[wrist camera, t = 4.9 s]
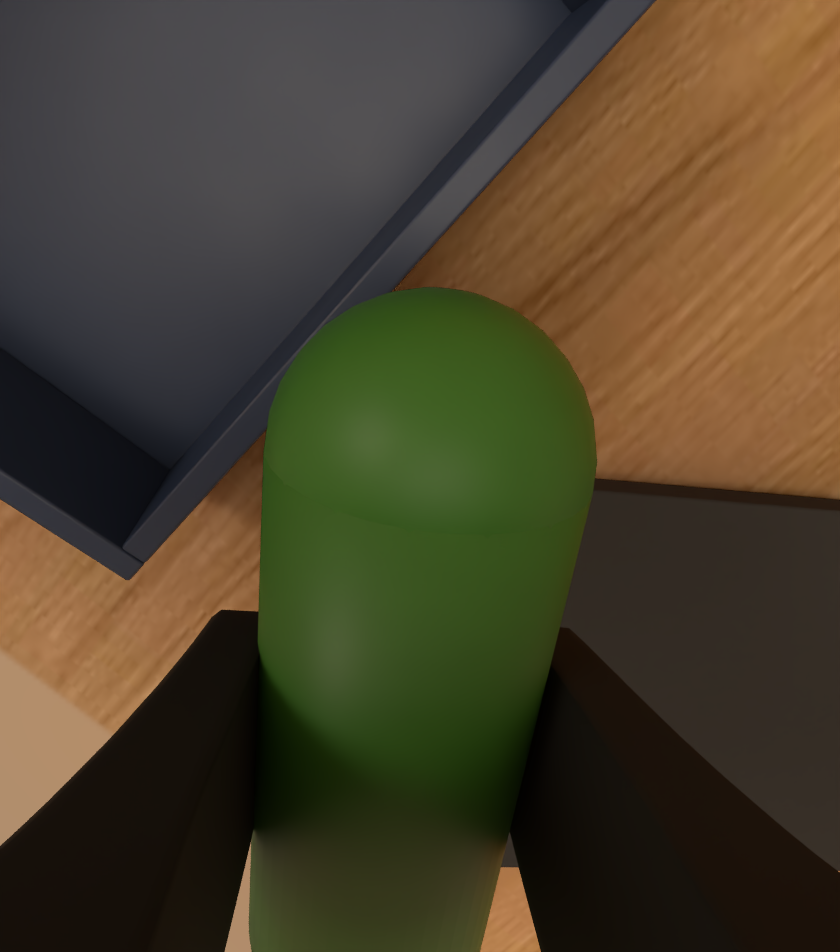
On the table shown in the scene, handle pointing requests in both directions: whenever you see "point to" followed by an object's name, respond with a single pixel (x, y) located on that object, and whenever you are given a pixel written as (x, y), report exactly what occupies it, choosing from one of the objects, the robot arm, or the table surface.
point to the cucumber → (407, 616)
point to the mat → (725, 634)
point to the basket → (228, 215)
